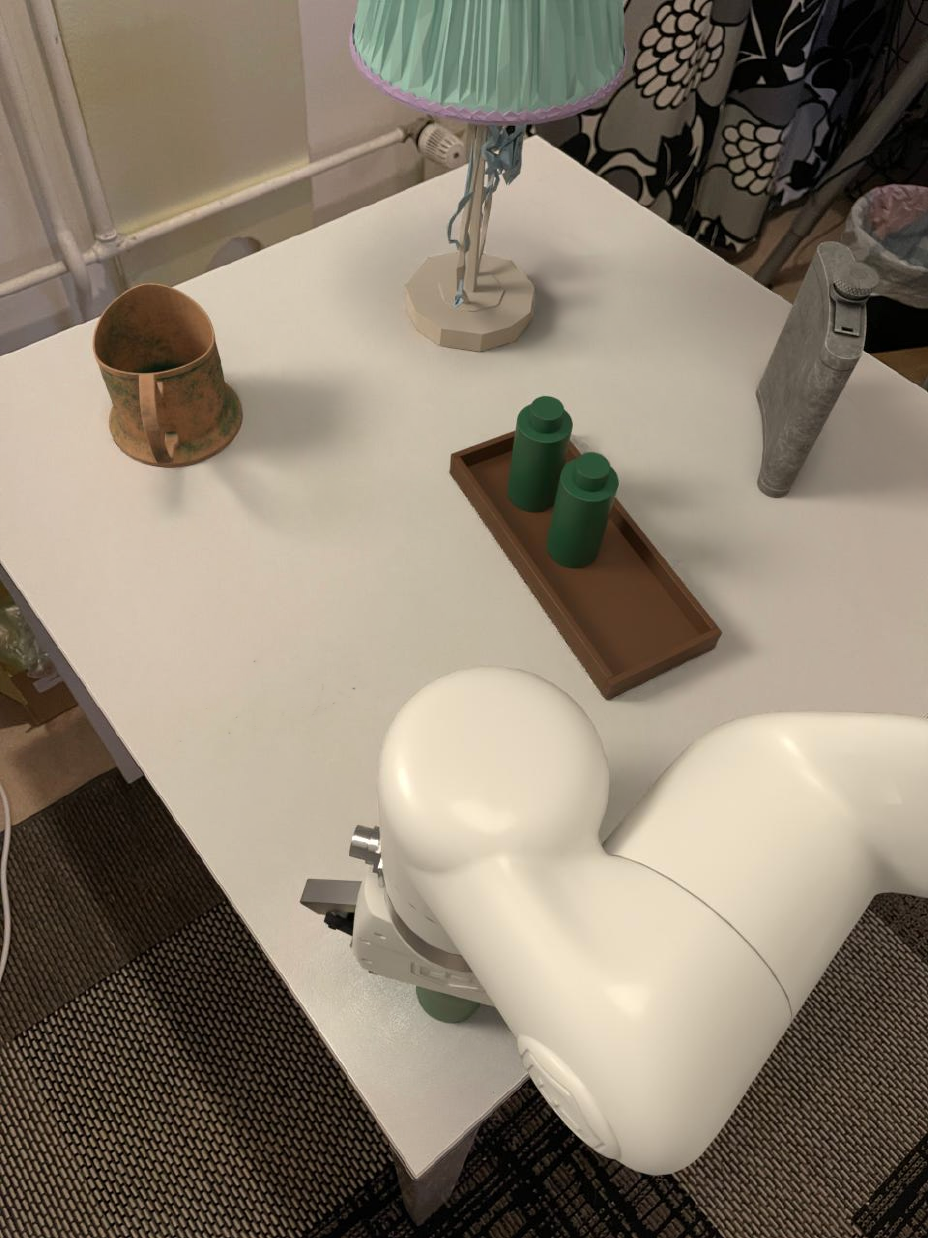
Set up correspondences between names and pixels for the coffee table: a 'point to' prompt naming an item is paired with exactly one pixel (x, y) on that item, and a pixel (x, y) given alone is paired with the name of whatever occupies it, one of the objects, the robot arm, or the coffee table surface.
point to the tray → (592, 580)
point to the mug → (164, 378)
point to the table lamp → (486, 125)
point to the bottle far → (539, 454)
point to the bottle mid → (581, 510)
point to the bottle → (445, 1005)
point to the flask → (812, 362)
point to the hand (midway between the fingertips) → (454, 966)
